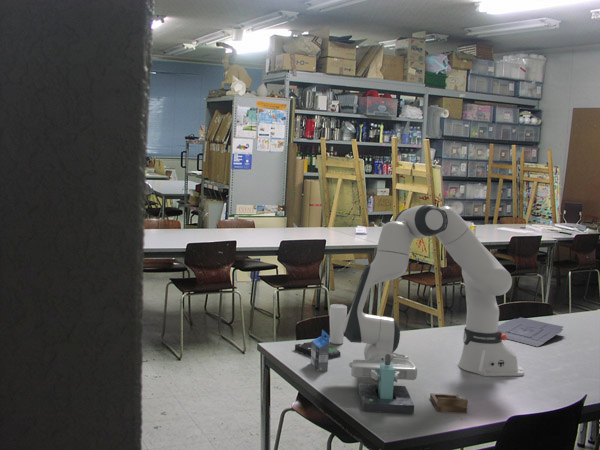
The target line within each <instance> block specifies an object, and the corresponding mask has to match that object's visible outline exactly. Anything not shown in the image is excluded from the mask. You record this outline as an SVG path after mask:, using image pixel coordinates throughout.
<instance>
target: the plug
mask: <svg viewBox="0 0 600 450" xmlns="http://www.w3.org/2000/svg"><path fill="white" fill-rule="evenodd" d="M390 359H391V356H390V354H386V355H385V363H380V375H381V378H380V381H378V385H379V388H378V396H379V397H378V399H393V386H395V385H394V384H395V381H394V372H395V370H394V367H393V365H392V363H390Z"/></svg>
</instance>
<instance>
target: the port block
mask: <svg viewBox="0 0 600 450" xmlns="http://www.w3.org/2000/svg"><path fill="white" fill-rule="evenodd" d="M378 388H379V384H371V383H369V384H368V383H358V394H359V395H358V396H359V399H360V403H361V407H362V411H363V412H366V413H367V412H369V413H386V414H387V413H389V414H408V415H409V414H411V415H414V414H415V404H414V402H413V400H412V398H411V395H410V394H409V391H408V388H407V386H406V385H394V386H393V399H379V396H378Z"/></svg>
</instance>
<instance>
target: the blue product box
mask: <svg viewBox="0 0 600 450" xmlns="http://www.w3.org/2000/svg"><path fill="white" fill-rule="evenodd" d="M311 342H312V345H311V357H310V364H311V366H313V368H314V369H315V370H316V371H317V372H328V371H329V369H328V367H329V359H328V354H329V347H330V334H328V333H327V332H326V331H325V330H324V329H322V330H321V336H319V337H317V338H315V339H313V340H311Z"/></svg>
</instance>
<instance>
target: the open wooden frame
mask: <svg viewBox="0 0 600 450" xmlns="http://www.w3.org/2000/svg"><path fill="white" fill-rule="evenodd" d="M429 397H430V398H431V399H430V400H431V402H432V404H433V406H434V408H435V407H436V408H435V409H436V412H438V413H454V414H455V413H457V414H468V404H469V403H468V402H469V400H468V398H461V396H459V394H456V393H455V394H452V393H433V392H431V393H430V395H429Z"/></svg>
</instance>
